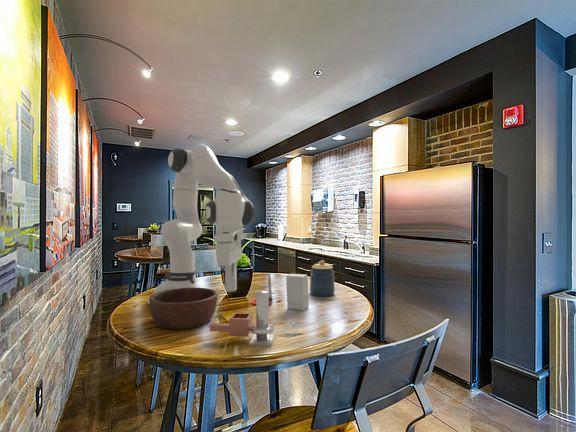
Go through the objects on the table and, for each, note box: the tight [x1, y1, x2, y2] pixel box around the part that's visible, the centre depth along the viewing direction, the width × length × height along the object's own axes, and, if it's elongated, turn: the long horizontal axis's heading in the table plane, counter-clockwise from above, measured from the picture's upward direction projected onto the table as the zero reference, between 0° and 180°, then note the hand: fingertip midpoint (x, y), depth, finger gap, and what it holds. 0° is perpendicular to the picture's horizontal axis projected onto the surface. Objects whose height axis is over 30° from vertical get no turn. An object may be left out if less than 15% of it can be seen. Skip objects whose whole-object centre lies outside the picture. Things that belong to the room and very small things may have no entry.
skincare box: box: [285, 273, 310, 312], centre depth 137 cm, size 8×6×15 cm
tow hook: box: [250, 273, 274, 306], centre depth 145 cm, size 9×14×10 cm
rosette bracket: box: [209, 289, 275, 347], centre depth 101 cm, size 21×8×16 cm, turn 86°
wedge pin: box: [224, 261, 238, 292], centre depth 107 cm, size 3×3×10 cm
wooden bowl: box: [148, 287, 218, 330], centre depth 120 cm, size 25×25×10 cm
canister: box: [309, 259, 336, 297], centre depth 163 cm, size 13×13×18 cm
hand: (230, 275), depth 107 cm, fingers closed on wedge pin, 3 cm apart
